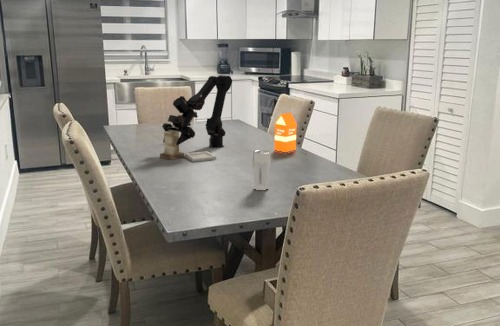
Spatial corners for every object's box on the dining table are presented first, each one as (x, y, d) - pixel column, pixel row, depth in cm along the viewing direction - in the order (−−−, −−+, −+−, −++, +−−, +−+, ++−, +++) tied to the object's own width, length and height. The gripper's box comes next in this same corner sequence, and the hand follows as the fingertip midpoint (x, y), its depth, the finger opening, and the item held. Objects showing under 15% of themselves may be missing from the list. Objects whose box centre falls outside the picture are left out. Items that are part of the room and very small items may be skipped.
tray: (207, 154, 248) (207, 151, 247) (216, 159, 237) (216, 156, 237) (184, 156, 242) (184, 153, 242) (193, 162, 232) (193, 158, 232)
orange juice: (295, 150, 259) (297, 113, 254) (285, 153, 252) (286, 115, 247) (284, 148, 264) (285, 111, 259) (274, 150, 257) (274, 113, 253)
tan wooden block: (172, 155, 245) (171, 130, 242) (179, 157, 242) (178, 131, 239) (164, 157, 241) (164, 131, 238) (171, 158, 238) (171, 132, 235)
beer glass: (251, 186, 194) (251, 149, 190) (268, 186, 195) (269, 149, 191) (253, 191, 187) (253, 153, 184) (270, 191, 188) (271, 153, 184)
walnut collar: (172, 154, 247) (172, 150, 247) (184, 156, 242) (184, 153, 242) (159, 157, 241) (159, 153, 240) (171, 160, 236) (171, 156, 235)
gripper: (164, 107, 245) (148, 131, 239) (190, 110, 233) (174, 136, 228) (176, 120, 253) (160, 144, 247) (202, 124, 241) (186, 149, 236)
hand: (170, 143), depth 239 cm, fingers open, 9 cm apart
